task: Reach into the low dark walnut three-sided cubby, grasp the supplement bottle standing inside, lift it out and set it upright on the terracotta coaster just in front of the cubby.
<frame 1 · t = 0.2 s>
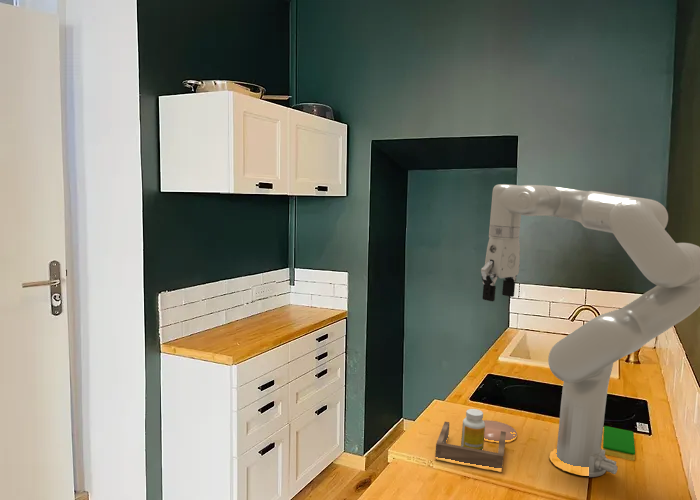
hand: (498, 298, 146), 36 cm above the worktop, tool pointing down, fingers open, 9 cm apart
terracotta coaster: (493, 432, 148), on the worktop
dish sponge: (617, 448, 144), on the worktop
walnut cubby: (472, 448, 138), on the worktop
supplement bottle: (471, 449, 138), on the worktop
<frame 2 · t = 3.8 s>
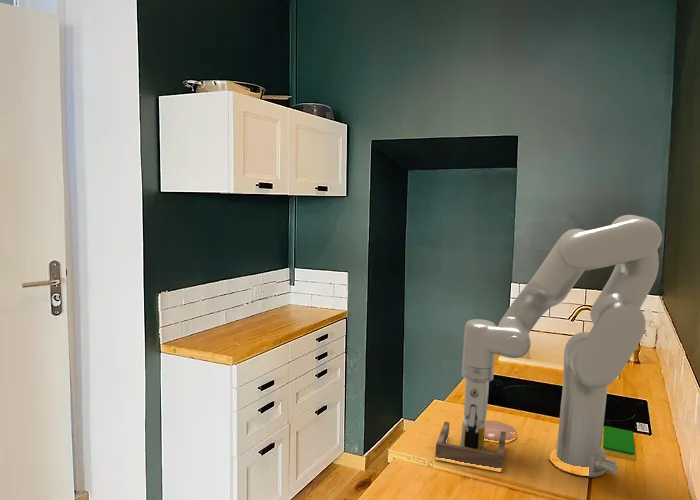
hand: (472, 441, 138), 2 cm above the worktop, tool pointing down, fingers closed on supplement bottle, 5 cm apart
supplement bottle: (471, 449, 138), on the worktop, touching gripper
everything else where it was.
when the fingers open (4 cm above the worktop, at t = 9.4 s): supplement bottle drops 1 cm, resting on terracotta coaster.
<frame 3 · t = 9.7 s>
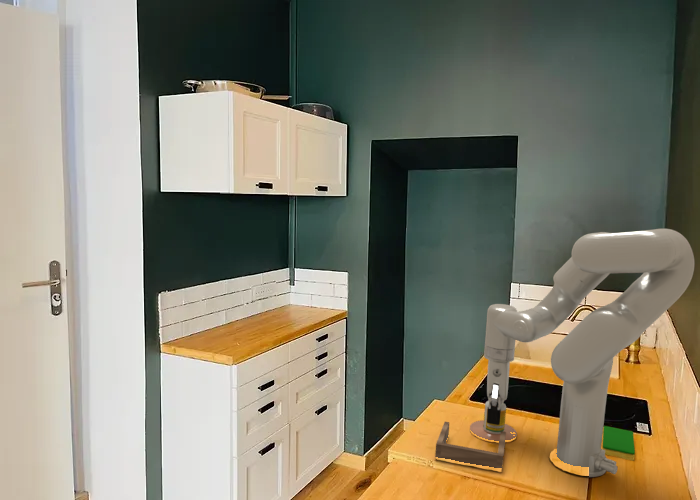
hand: (494, 416, 147), 4 cm above the worktop, tool pointing down, fingers open, 8 cm apart
supplement bottle: (493, 431, 148), point 1 cm above the worktop, touching terracotta coaster
everything else where it was.
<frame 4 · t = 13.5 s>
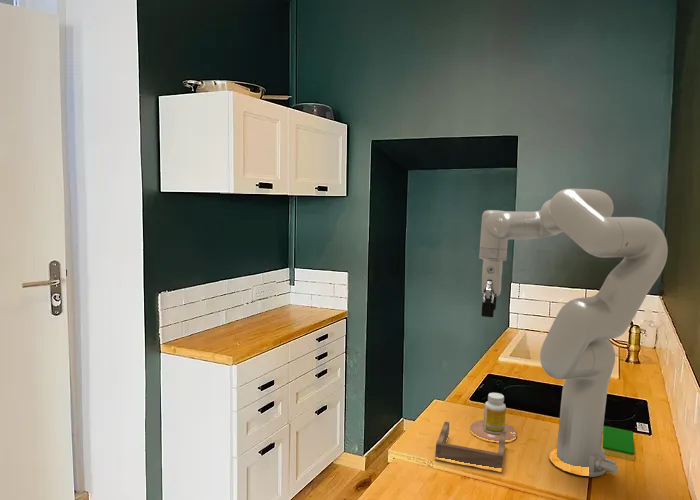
hand: (488, 312, 161), 28 cm above the worktop, tool pointing down, fingers open, 9 cm apart
nothing on the worktop moved.
at the end: supplement bottle inside the target area on the terracotta coaster (0.2 cm from its centre), point 0.6 cm above the terracotta coaster's base; supplement bottle tilted 1°; the gripper is holding nothing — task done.
